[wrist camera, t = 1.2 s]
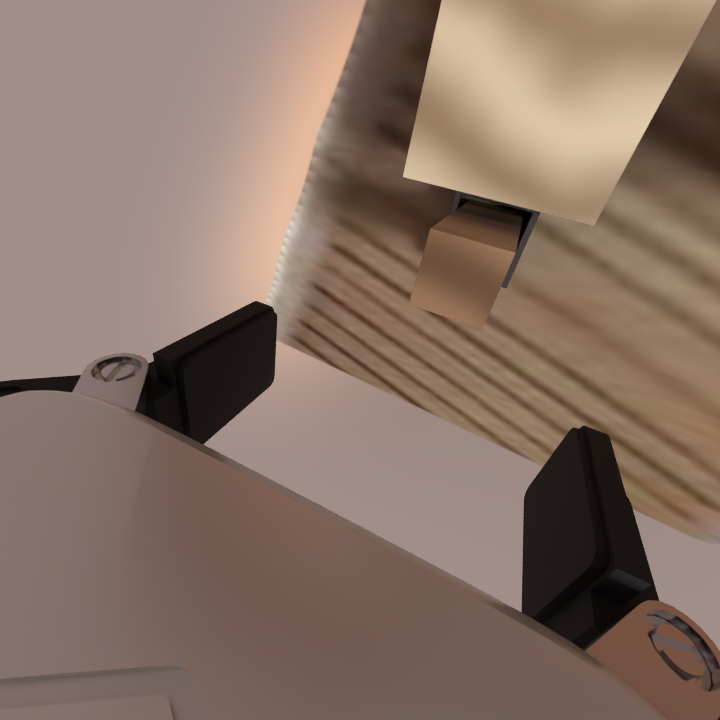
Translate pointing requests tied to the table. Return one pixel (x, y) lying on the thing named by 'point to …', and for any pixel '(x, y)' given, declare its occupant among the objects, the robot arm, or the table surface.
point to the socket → (525, 235)
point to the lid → (545, 96)
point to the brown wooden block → (467, 262)
